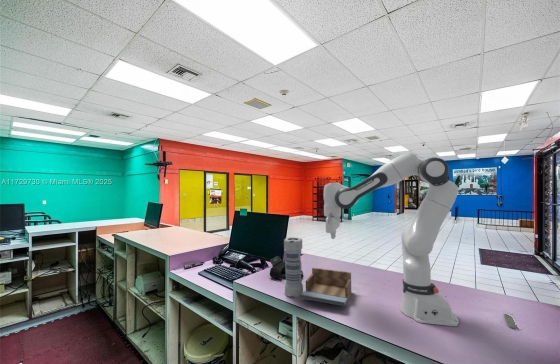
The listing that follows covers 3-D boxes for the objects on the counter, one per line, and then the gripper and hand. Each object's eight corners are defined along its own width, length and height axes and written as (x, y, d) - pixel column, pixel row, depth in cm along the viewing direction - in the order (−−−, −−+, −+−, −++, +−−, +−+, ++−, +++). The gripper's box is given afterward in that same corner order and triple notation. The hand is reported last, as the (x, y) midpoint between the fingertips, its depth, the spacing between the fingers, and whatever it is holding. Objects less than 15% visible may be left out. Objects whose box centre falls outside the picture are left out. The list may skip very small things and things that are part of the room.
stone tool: (523, 330, 97) (507, 324, 100) (523, 333, 97) (506, 327, 100) (517, 315, 108) (502, 310, 111) (516, 318, 108) (501, 313, 111)
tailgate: (347, 297, 121) (344, 302, 113) (347, 301, 121) (344, 306, 113) (305, 290, 130) (299, 294, 122) (305, 293, 130) (299, 297, 121)
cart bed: (351, 292, 134) (351, 272, 134) (347, 303, 122) (347, 281, 122) (312, 286, 143) (312, 267, 143) (305, 296, 130) (305, 275, 131)
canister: (302, 298, 128) (301, 241, 129) (283, 296, 130) (282, 240, 131) (304, 290, 138) (303, 237, 138) (286, 288, 140) (285, 236, 140)
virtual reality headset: (278, 267, 173) (279, 254, 173) (306, 277, 164) (308, 263, 163) (264, 276, 157) (266, 261, 156) (295, 288, 147) (297, 272, 146)
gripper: (334, 214, 119) (335, 243, 119) (341, 210, 138) (342, 234, 138) (322, 214, 122) (323, 242, 122) (330, 210, 141) (331, 234, 140)
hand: (333, 238), depth 130 cm, fingers closed
